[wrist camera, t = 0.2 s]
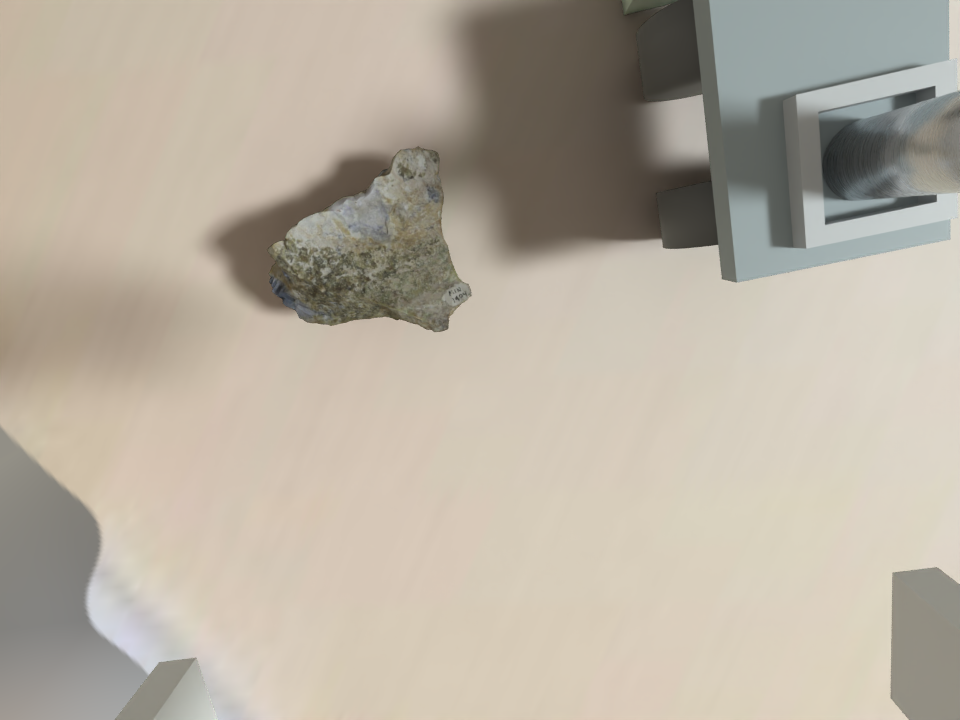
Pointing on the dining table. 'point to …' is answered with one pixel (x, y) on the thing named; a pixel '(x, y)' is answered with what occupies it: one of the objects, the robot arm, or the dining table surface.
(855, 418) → the dining table surface
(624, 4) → the tray
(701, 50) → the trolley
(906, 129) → the pin
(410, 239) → the rock
